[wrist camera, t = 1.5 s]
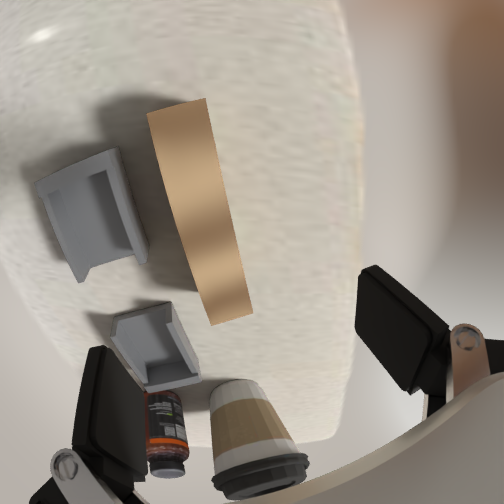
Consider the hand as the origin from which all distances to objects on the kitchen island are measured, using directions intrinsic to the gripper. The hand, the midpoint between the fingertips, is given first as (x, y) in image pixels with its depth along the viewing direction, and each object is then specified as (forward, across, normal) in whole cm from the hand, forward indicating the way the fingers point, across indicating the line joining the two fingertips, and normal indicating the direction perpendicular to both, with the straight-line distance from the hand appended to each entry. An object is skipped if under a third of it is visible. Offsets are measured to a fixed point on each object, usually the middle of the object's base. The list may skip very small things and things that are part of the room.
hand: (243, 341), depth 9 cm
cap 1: (+14, +8, -3) cm, 17 cm away
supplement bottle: (+15, +13, +22) cm, 30 cm away
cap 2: (+15, +8, +12) cm, 20 cm away
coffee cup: (+15, +3, +25) cm, 30 cm away
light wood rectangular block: (+15, 0, -1) cm, 15 cm away
